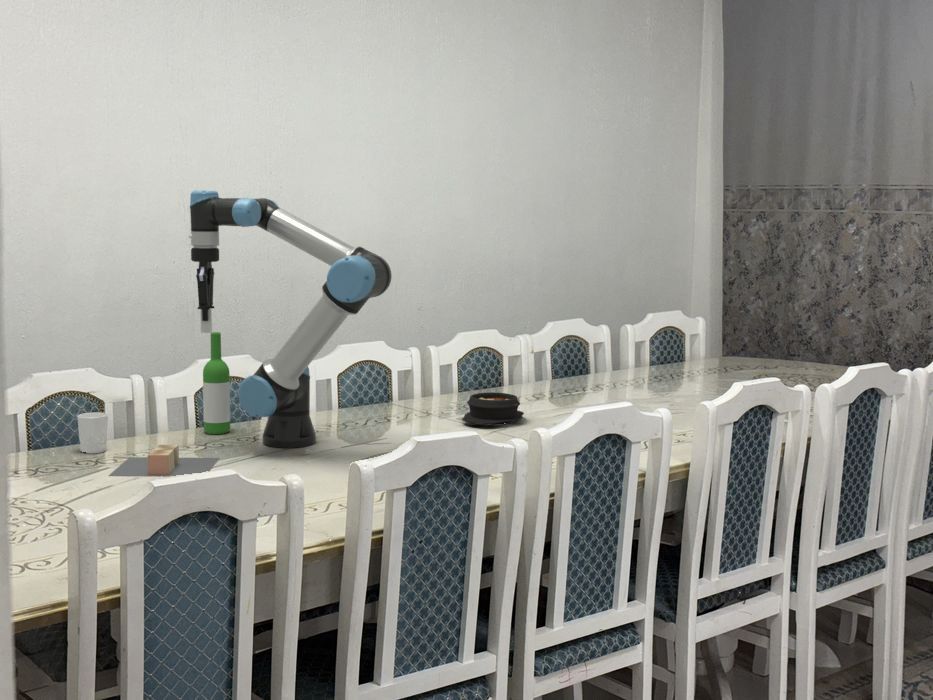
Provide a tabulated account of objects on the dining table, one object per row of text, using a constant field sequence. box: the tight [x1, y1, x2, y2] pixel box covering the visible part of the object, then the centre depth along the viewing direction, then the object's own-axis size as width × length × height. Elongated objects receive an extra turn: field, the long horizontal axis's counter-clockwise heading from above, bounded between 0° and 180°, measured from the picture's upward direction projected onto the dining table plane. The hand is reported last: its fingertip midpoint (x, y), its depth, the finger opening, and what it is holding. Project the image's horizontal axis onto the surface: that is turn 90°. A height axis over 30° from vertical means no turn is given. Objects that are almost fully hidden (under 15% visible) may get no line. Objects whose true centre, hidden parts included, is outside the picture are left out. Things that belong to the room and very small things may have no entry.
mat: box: [108, 456, 221, 478], centre depth 280 cm, size 24×20×1 cm
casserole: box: [461, 391, 525, 425], centre depth 346 cm, size 25×19×8 cm
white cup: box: [77, 412, 109, 454], centre depth 297 cm, size 8×8×10 cm
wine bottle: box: [202, 331, 231, 435], centre depth 321 cm, size 8×8×30 cm
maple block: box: [147, 444, 180, 475], centre depth 277 cm, size 5×5×12 cm
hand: (206, 332), depth 300 cm, fingers closed
